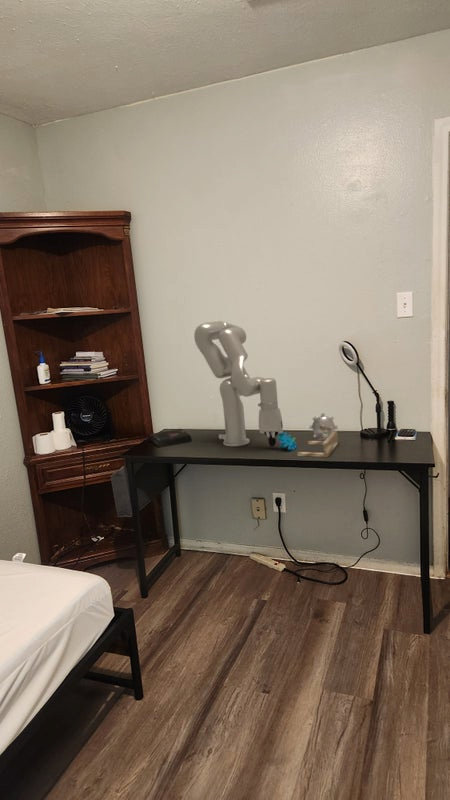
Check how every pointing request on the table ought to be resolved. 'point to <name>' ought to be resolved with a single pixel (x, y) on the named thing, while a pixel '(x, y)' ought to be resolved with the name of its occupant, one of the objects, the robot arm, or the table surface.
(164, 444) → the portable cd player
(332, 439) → the gear bay
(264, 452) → the table surface
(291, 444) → the blue spiky oval
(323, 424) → the gear
